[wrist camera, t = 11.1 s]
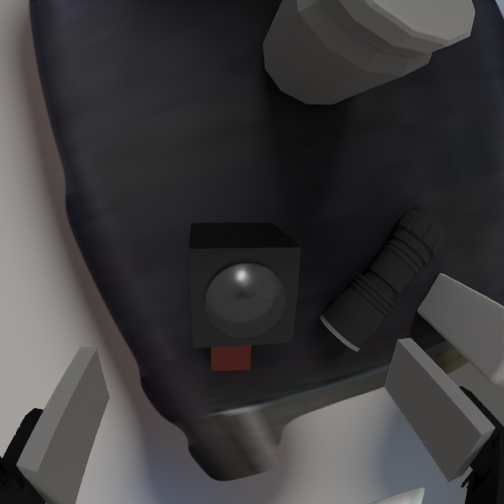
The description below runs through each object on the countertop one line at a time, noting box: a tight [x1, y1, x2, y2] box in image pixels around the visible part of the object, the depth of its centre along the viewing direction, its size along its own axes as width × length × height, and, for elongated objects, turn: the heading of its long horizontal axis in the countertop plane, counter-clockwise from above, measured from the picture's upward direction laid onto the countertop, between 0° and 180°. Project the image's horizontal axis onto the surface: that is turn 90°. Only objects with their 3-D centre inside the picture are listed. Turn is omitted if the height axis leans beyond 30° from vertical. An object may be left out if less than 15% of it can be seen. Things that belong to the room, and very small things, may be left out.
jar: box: [263, 0, 475, 105], centre depth 17 cm, size 10×10×18 cm
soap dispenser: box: [417, 273, 504, 388], centre depth 24 cm, size 6×6×22 cm
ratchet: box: [211, 222, 251, 371], centre depth 28 cm, size 15×6×6 cm, turn 178°
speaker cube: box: [189, 223, 301, 348], centre depth 24 cm, size 7×7×8 cm
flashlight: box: [320, 206, 446, 351], centre depth 30 cm, size 15×5×5 cm, turn 141°
